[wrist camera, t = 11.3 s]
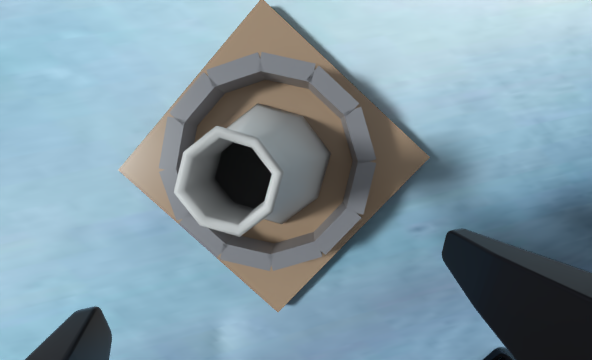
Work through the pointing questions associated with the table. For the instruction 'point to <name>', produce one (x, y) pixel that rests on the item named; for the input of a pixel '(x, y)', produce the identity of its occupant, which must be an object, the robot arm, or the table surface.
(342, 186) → the duct collar
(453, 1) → the table surface
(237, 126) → the flask
